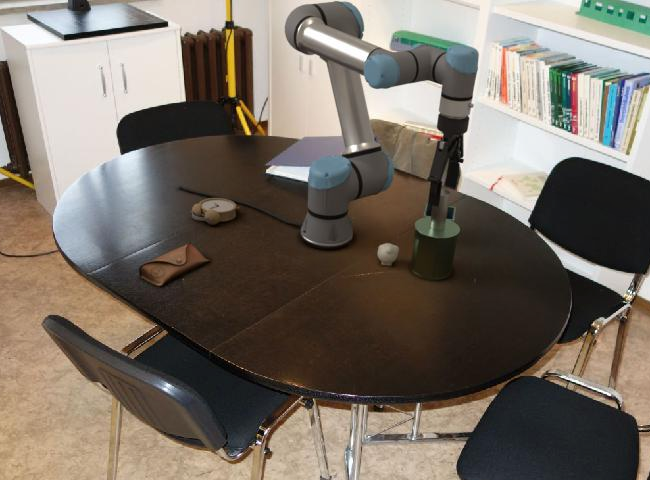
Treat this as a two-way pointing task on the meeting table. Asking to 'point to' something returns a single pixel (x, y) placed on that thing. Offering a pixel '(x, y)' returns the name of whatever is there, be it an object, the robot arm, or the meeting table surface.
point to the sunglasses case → (172, 265)
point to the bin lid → (438, 221)
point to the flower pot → (449, 213)
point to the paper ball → (387, 253)
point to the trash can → (432, 257)
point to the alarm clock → (214, 210)
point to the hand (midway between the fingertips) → (442, 195)
